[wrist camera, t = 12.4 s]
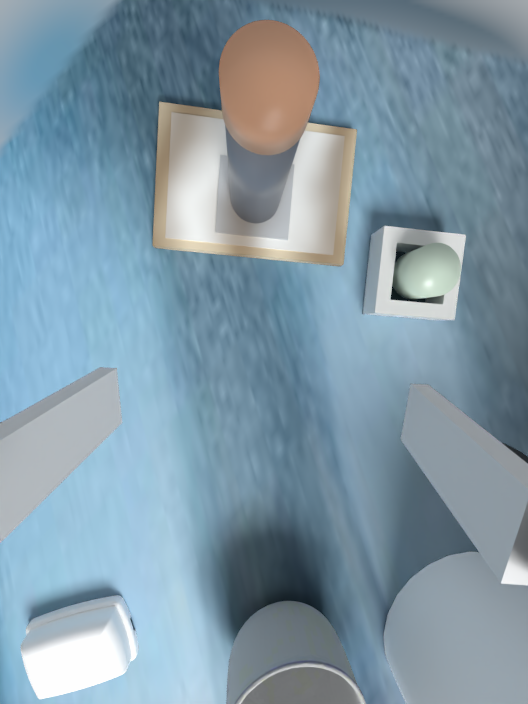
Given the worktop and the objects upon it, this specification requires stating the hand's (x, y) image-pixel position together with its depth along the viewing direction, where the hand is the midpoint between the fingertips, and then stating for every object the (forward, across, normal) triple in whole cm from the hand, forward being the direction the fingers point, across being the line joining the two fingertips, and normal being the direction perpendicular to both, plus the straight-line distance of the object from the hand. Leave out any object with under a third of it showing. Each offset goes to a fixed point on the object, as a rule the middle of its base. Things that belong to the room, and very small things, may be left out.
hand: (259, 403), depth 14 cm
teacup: (+9, +4, -30) cm, 31 cm away
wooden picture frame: (+16, -2, +12) cm, 20 cm away
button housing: (+16, +12, +5) cm, 21 cm away
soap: (+7, -16, -28) cm, 33 cm away
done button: (+15, +12, +6) cm, 20 cm away
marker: (+15, -2, +11) cm, 19 cm away
